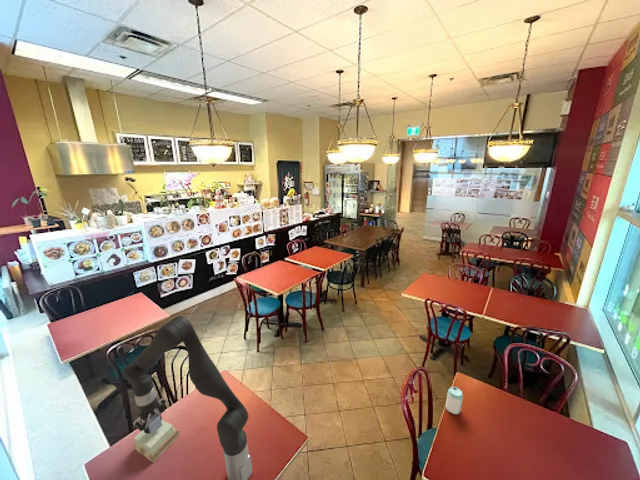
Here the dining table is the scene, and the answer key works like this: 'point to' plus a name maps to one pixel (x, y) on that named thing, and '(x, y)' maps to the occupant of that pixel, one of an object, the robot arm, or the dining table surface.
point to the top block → (154, 438)
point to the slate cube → (154, 424)
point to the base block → (161, 449)
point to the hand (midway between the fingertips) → (153, 426)
